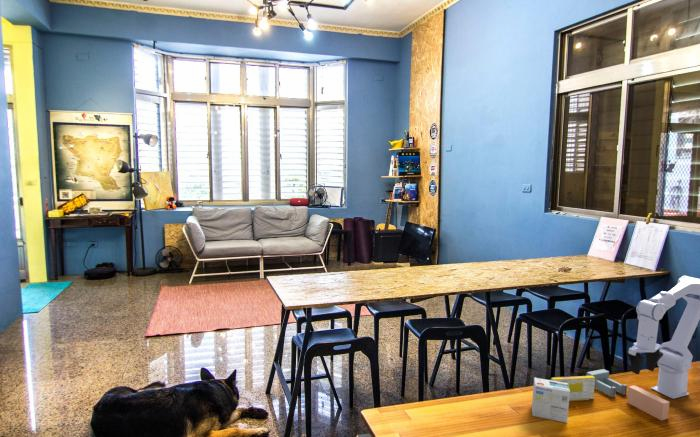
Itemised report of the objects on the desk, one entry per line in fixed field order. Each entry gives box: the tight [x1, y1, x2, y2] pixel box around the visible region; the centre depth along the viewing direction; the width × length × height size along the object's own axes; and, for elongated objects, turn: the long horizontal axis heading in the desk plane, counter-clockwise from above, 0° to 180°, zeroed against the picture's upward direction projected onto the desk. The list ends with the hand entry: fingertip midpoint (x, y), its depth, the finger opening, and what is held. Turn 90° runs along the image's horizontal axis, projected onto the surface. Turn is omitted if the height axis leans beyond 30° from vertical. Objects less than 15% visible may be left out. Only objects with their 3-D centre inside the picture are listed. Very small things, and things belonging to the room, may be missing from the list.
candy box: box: [550, 375, 595, 402], centre depth 158 cm, size 16×2×8 cm, turn 99°
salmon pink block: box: [626, 385, 670, 421], centre depth 153 cm, size 3×12×6 cm, turn 22°
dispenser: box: [586, 368, 628, 398], centre depth 167 cm, size 9×10×5 cm
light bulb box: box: [531, 376, 570, 424], centre depth 147 cm, size 11×7×11 cm, turn 71°
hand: (642, 371), depth 159 cm, fingers open, 7 cm apart
